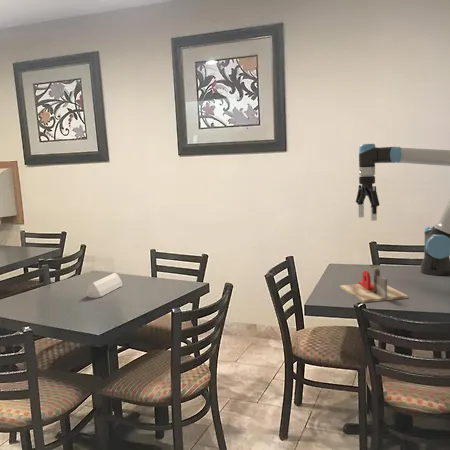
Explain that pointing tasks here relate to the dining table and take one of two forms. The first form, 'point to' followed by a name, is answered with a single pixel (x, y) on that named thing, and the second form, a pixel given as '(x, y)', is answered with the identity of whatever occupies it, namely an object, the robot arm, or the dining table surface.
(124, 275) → the dining table surface
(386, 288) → the hinge mount
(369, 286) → the bracket
